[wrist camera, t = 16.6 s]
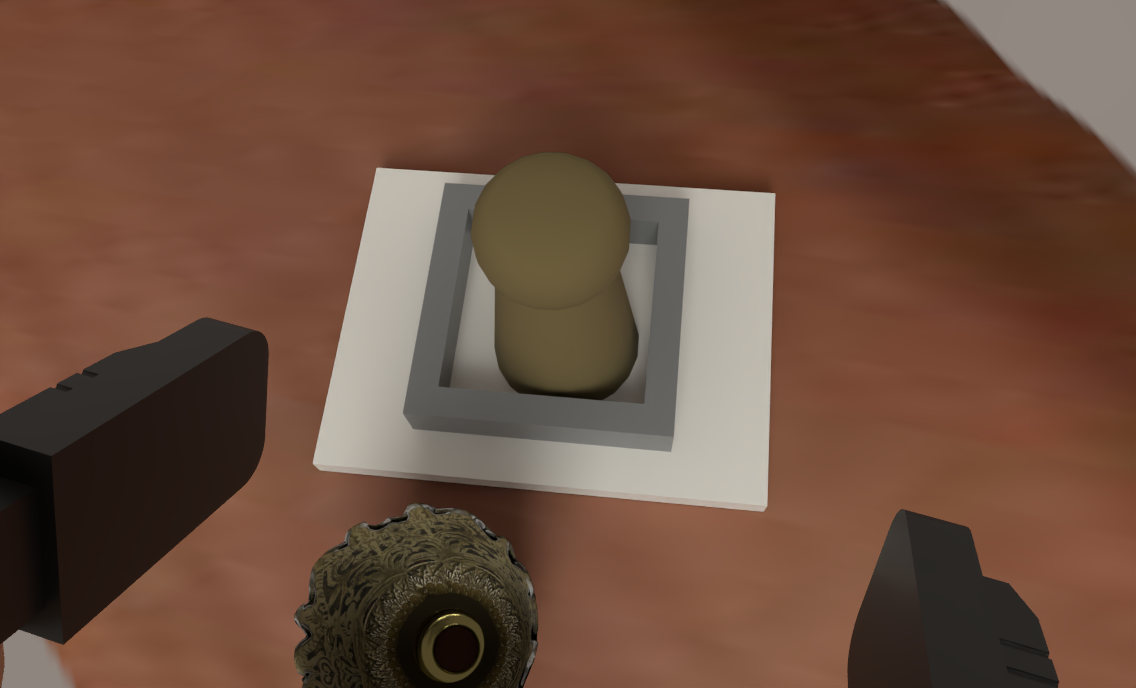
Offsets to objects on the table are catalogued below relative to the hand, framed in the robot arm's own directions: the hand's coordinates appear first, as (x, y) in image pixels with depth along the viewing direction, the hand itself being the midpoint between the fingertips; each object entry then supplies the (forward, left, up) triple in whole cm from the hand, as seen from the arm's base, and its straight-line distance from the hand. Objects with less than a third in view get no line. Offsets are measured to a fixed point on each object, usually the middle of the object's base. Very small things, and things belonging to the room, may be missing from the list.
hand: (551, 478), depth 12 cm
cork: (+2, -12, -25) cm, 28 cm away
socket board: (+3, -13, -26) cm, 29 cm away
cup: (+5, 0, -26) cm, 26 cm away
